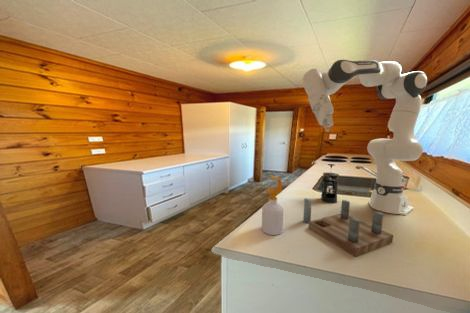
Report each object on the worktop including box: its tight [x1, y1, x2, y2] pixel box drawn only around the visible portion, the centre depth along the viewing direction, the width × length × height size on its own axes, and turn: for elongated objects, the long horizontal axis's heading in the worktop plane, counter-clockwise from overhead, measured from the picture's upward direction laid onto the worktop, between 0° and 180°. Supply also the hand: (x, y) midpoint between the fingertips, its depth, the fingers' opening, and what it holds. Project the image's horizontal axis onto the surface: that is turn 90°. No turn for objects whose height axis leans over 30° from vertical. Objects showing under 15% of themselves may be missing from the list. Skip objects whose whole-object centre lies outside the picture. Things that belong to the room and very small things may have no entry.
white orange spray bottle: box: [261, 174, 285, 236], centre depth 85 cm, size 9×9×25 cm
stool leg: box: [302, 198, 312, 224], centre depth 94 cm, size 3×3×11 cm
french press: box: [320, 163, 340, 204], centre depth 121 cm, size 12×9×23 cm
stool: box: [308, 199, 394, 257], centre depth 82 cm, size 22×22×11 cm
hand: (329, 128), depth 91 cm, fingers open, 8 cm apart
